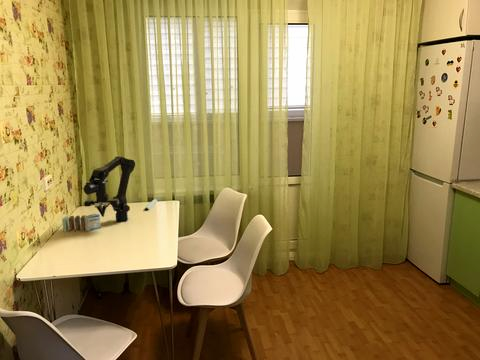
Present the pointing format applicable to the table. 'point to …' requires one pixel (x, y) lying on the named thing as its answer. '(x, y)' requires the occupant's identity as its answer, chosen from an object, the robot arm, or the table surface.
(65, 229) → the domino
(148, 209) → the white black-tipped bar
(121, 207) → the robot arm
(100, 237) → the table surface
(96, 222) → the medicine box
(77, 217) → the domino
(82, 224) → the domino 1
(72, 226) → the domino
